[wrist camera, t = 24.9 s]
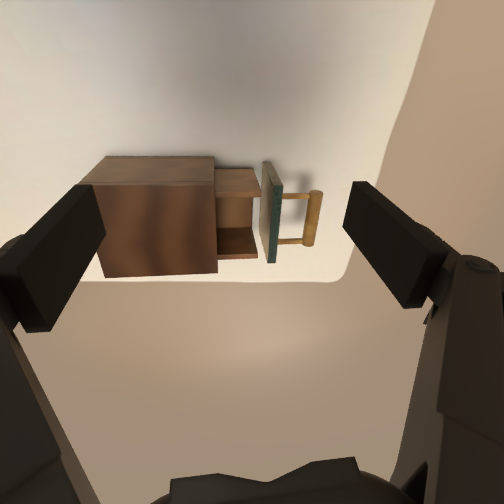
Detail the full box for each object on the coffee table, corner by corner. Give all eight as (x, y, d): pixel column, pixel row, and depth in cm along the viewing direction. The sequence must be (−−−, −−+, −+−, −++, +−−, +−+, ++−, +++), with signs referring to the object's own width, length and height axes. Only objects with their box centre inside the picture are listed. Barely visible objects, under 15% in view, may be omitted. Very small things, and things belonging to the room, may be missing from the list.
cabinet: (213, 156, 42) (214, 184, 33) (216, 233, 49) (217, 273, 40) (105, 156, 40) (75, 185, 31) (124, 236, 47) (104, 278, 38)
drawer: (310, 162, 43) (330, 184, 36) (300, 230, 49) (315, 261, 42) (175, 162, 41) (167, 186, 33) (183, 234, 47) (178, 267, 40)
